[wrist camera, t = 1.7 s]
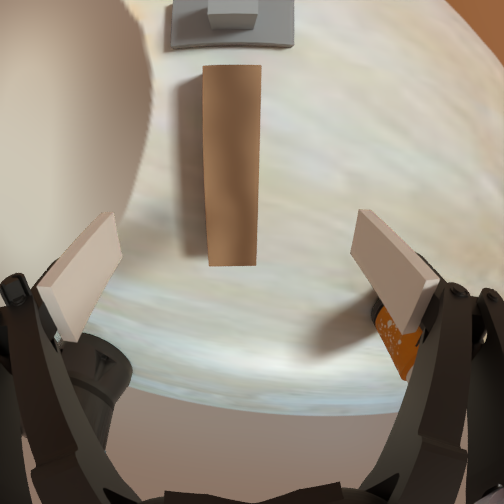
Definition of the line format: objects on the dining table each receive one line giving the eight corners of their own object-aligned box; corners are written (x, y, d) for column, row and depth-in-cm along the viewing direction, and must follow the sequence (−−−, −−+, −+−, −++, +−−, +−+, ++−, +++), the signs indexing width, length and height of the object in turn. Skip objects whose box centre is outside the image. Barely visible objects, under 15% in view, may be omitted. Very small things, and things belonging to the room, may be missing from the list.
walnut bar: (211, 243, 34) (208, 266, 29) (207, 72, 24) (202, 65, 19) (252, 243, 34) (256, 265, 30) (256, 72, 24) (261, 65, 20)
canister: (367, 329, 44) (411, 428, 26) (372, 279, 38) (438, 389, 21) (410, 316, 43) (462, 402, 26) (420, 266, 38) (493, 358, 20)
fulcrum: (173, 48, 22) (157, 34, 16) (176, 2, 19) (162, -21, 13) (291, 47, 22) (307, 33, 17) (291, 1, 19) (306, -22, 14)
